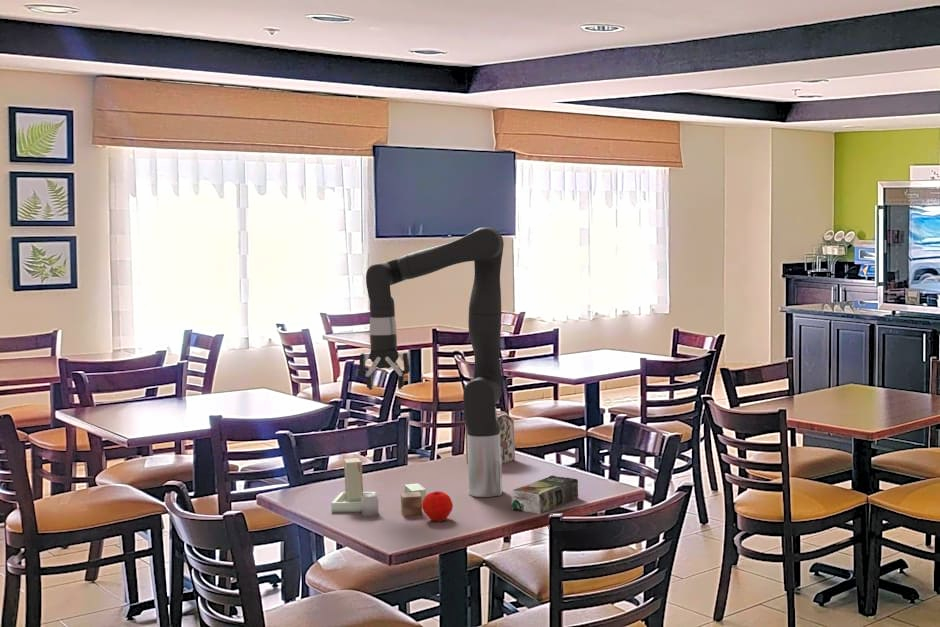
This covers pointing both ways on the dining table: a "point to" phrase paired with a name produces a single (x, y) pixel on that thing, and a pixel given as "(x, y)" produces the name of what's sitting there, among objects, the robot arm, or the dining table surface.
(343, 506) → the tray
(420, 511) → the walnut block
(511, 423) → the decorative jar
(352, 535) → the dining table surface
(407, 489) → the sage block
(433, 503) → the apple
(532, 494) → the juice carton
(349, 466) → the skincare box
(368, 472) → the dining table surface
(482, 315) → the robot arm
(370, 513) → the grey cylinder
